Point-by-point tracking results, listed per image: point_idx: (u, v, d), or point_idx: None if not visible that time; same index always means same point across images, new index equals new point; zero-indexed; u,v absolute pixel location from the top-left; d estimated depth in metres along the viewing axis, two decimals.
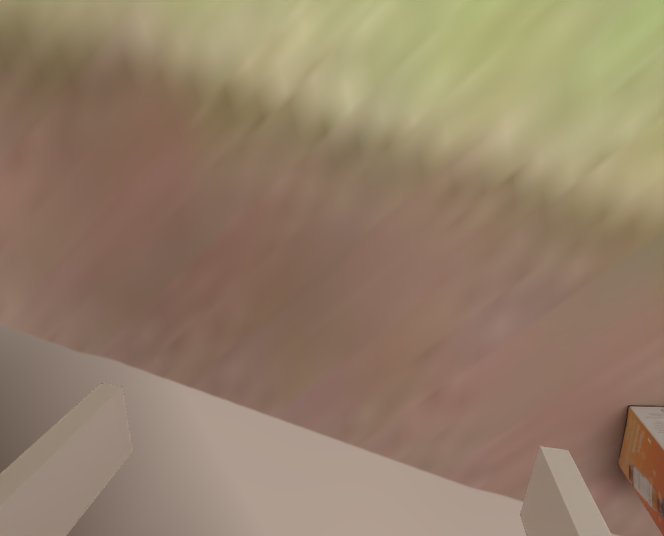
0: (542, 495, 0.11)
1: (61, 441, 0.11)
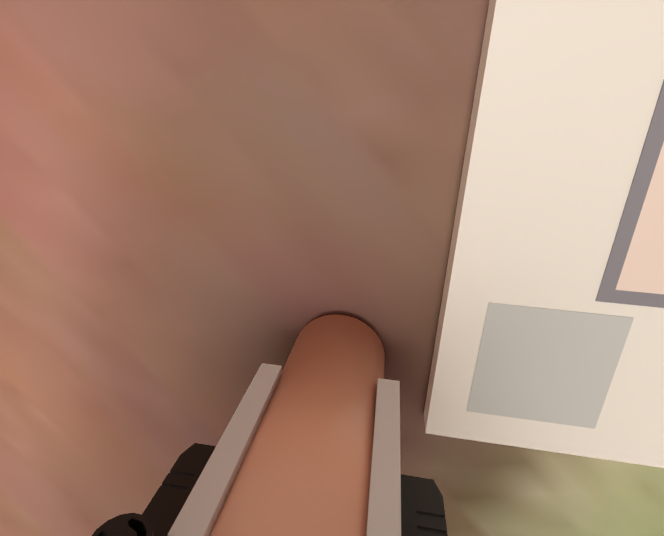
0: None
1: (256, 410, 0.12)
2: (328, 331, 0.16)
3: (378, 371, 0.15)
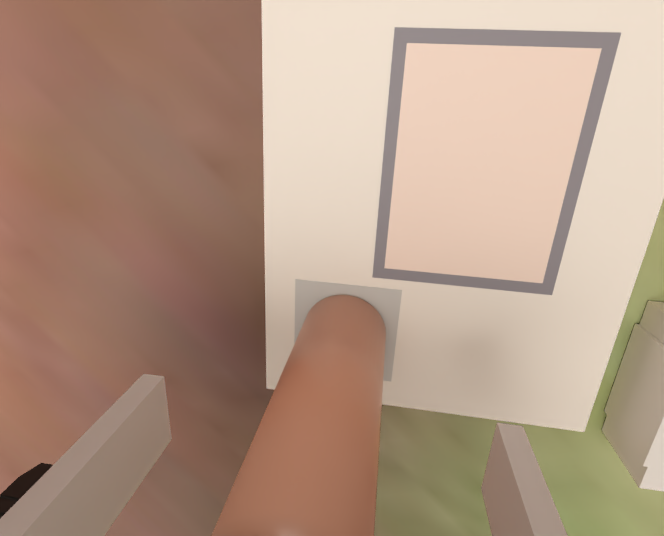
0: (497, 467, 0.12)
1: (114, 427, 0.11)
2: (335, 309, 0.18)
3: (380, 345, 0.17)
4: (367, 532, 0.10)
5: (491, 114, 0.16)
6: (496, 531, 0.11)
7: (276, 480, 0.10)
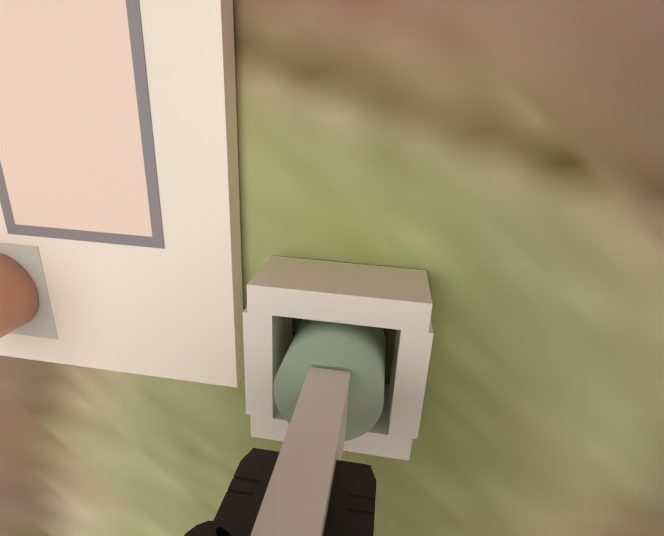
0: None
1: (313, 415, 0.12)
2: None
3: None
4: None
5: (58, 67, 0.16)
6: None
7: None
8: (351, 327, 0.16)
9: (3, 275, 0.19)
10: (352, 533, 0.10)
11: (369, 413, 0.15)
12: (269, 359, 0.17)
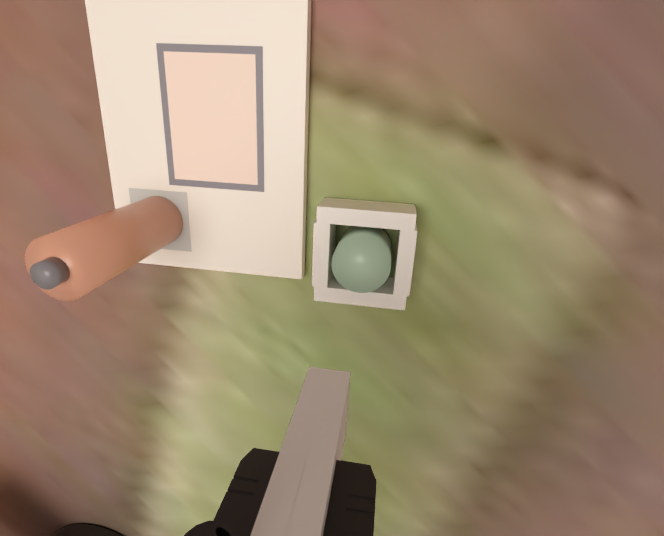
0: None
1: (313, 415, 0.12)
2: (144, 200, 0.31)
3: (164, 218, 0.31)
4: (92, 255, 0.24)
5: (212, 89, 0.29)
6: None
7: (55, 232, 0.23)
8: (373, 231, 0.30)
9: (169, 209, 0.32)
10: (352, 532, 0.10)
11: (383, 274, 0.29)
12: (327, 250, 0.30)
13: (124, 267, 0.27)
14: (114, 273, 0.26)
